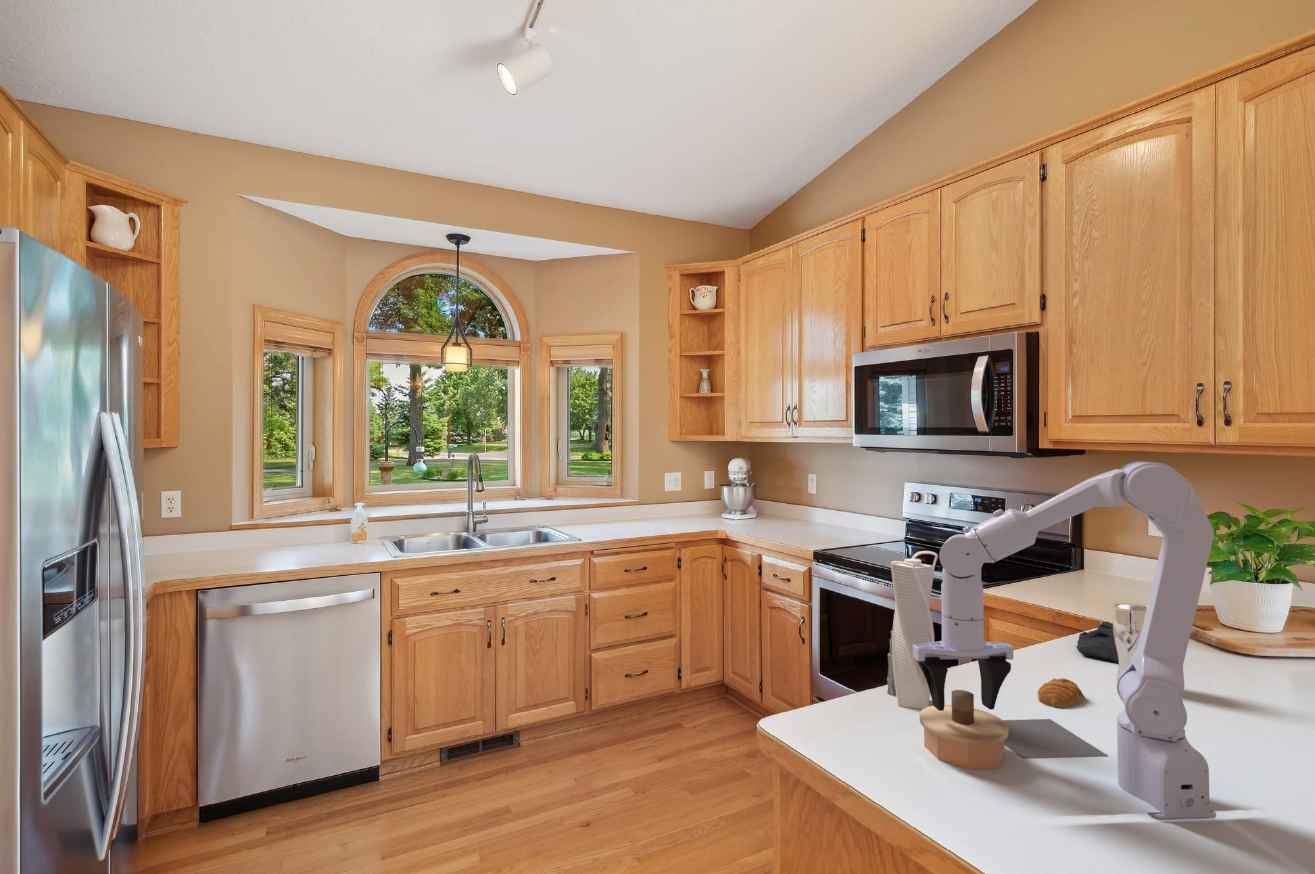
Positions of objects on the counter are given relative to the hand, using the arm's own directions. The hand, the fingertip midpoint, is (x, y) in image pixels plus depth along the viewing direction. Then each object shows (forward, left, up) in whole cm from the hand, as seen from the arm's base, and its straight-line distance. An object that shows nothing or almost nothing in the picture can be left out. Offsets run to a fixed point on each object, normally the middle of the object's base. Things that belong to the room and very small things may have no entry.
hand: (963, 707), depth 97 cm
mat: (+4, -14, -7) cm, 16 cm away
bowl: (0, 0, -7) cm, 7 cm away
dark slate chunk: (+48, -61, -8) cm, 78 cm away
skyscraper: (+19, -1, -8) cm, 21 cm away
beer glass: (+27, -49, -8) cm, 56 cm away
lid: (0, 0, -3) cm, 3 cm away
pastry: (+19, -28, -8) cm, 35 cm away
